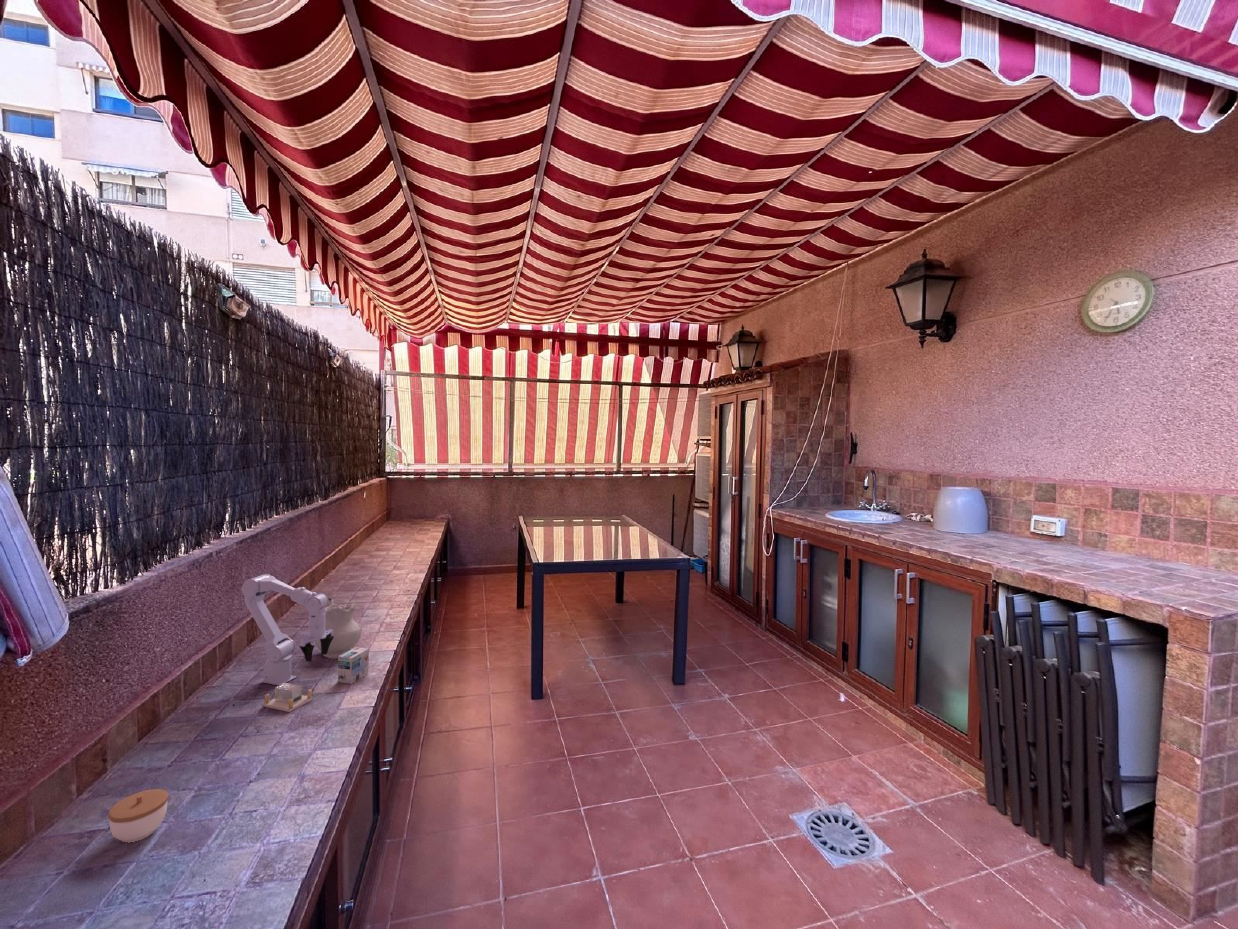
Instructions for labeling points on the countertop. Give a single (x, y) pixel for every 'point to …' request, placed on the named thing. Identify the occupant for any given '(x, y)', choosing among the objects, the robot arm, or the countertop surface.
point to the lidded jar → (138, 815)
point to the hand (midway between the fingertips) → (316, 657)
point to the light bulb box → (353, 665)
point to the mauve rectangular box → (288, 693)
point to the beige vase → (340, 629)
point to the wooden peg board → (289, 706)
